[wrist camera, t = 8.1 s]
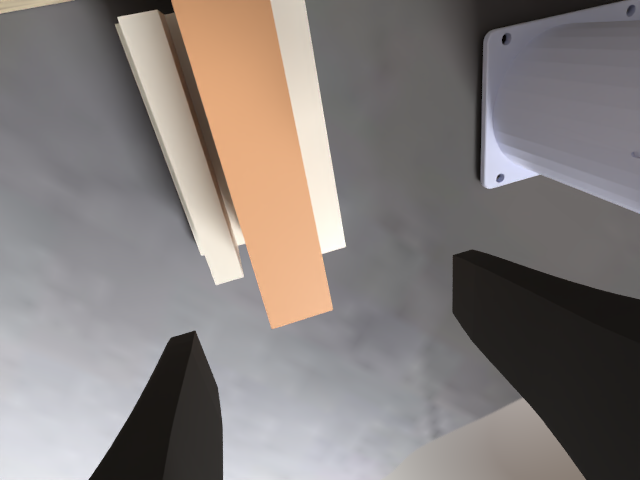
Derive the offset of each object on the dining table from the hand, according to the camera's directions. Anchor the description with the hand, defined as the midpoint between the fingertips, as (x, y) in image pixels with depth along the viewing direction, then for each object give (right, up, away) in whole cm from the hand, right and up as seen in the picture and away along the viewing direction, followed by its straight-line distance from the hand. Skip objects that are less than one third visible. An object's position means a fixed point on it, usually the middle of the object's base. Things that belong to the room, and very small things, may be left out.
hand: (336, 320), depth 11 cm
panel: (-4, +7, +7) cm, 10 cm away
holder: (-4, +7, +7) cm, 11 cm away
